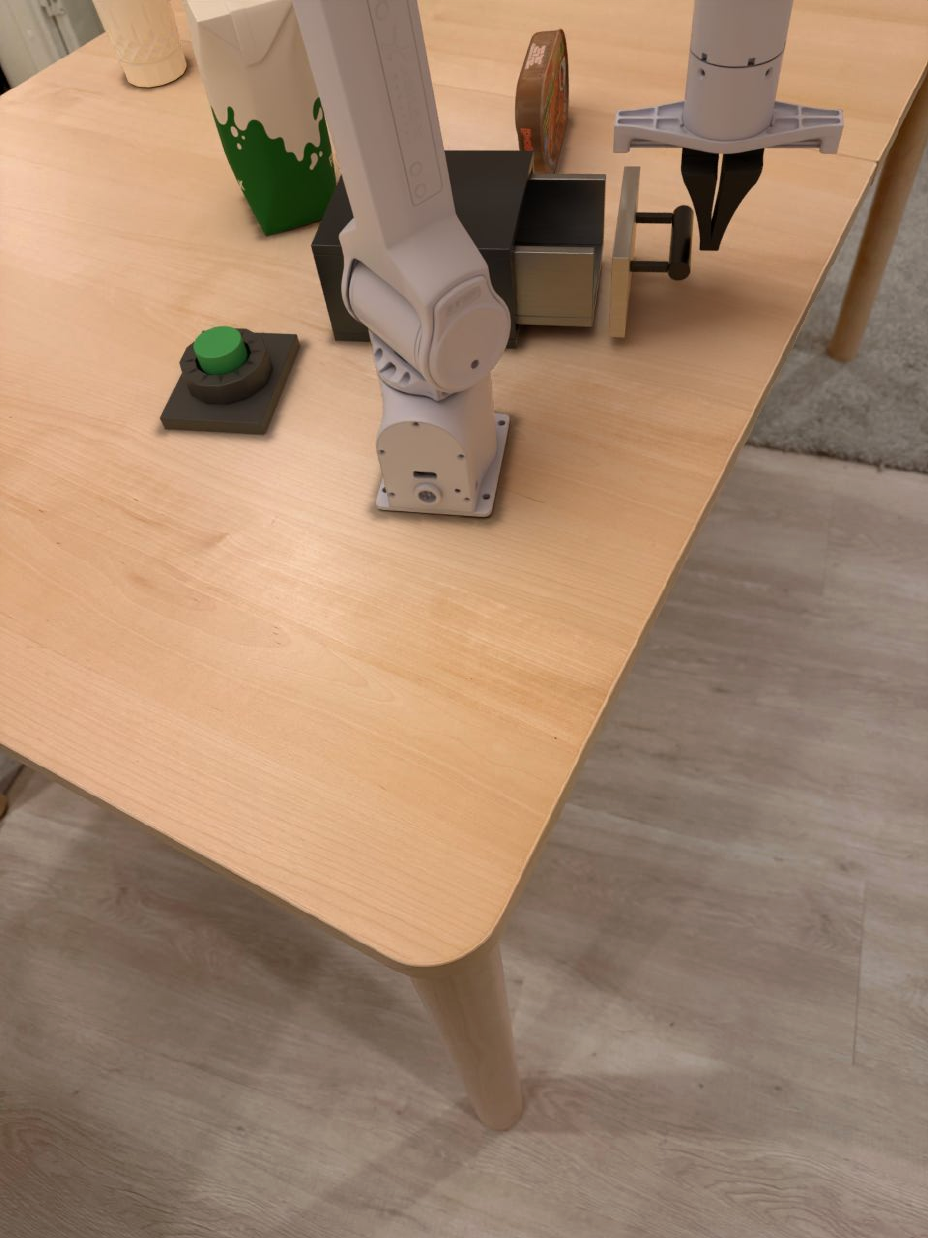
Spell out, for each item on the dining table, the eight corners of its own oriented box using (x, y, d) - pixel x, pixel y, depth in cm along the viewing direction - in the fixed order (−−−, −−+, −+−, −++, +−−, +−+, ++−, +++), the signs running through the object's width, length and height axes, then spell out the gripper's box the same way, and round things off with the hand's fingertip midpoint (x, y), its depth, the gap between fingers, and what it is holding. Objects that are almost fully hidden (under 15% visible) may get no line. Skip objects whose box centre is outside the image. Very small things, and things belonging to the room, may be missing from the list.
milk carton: (353, 216, 84) (300, -38, 67) (257, 245, 82) (178, -5, 66) (327, 169, 88) (271, -78, 72) (235, 196, 87) (158, -49, 71)
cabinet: (536, 249, 78) (533, 149, 71) (516, 348, 71) (510, 249, 64) (370, 245, 81) (351, 149, 74) (335, 341, 74) (310, 245, 67)
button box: (264, 435, 69) (253, 405, 66) (165, 429, 70) (150, 399, 68) (300, 345, 74) (291, 314, 72) (207, 342, 75) (194, 311, 73)
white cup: (109, 88, 102) (68, -14, 94) (142, 53, 106) (107, -48, 98) (172, 92, 100) (136, -12, 92) (204, 56, 104) (172, -46, 96)
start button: (239, 377, 69) (232, 358, 67) (194, 375, 69) (186, 356, 68) (253, 344, 71) (247, 326, 69) (209, 343, 71) (202, 324, 70)
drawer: (688, 246, 75) (698, 166, 69) (683, 339, 69) (693, 259, 63) (473, 242, 78) (465, 165, 73) (449, 331, 72) (439, 253, 66)
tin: (548, 193, 83) (546, 97, 76) (514, 192, 83) (509, 96, 76) (571, 105, 91) (571, 10, 84) (540, 105, 91) (537, 11, 84)
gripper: (857, 11, 58) (810, 212, 69) (623, 16, 60) (614, 209, 72) (864, 68, 54) (813, 270, 65) (614, 71, 57) (606, 265, 68)
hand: (709, 242), depth 68 cm, fingers closed
